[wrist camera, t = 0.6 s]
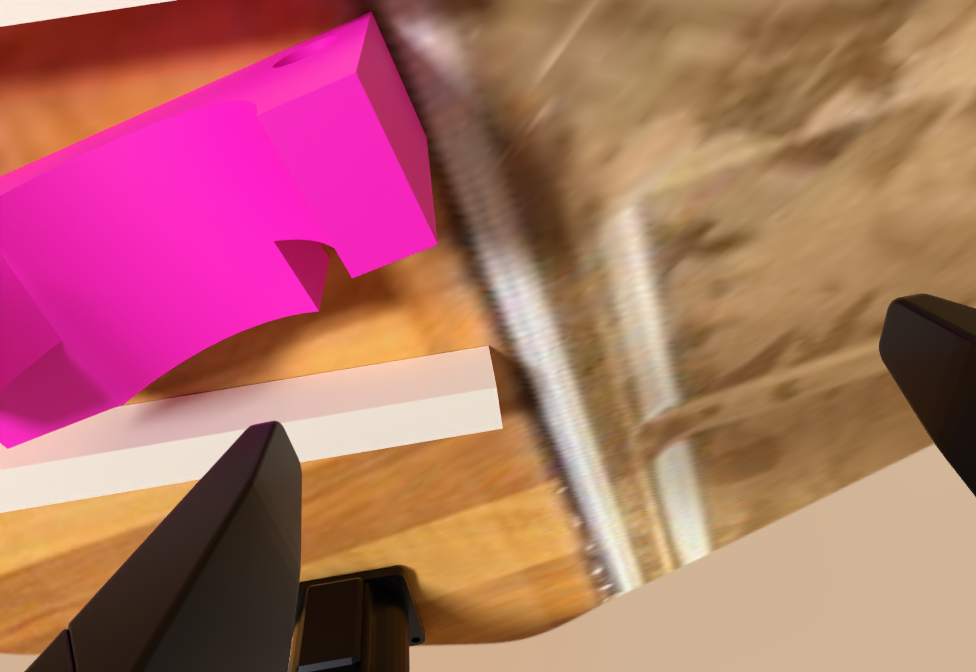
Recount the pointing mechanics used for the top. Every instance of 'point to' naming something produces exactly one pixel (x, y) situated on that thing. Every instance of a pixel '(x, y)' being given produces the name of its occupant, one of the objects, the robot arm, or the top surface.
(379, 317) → the top surface
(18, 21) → the chute
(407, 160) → the toy block
